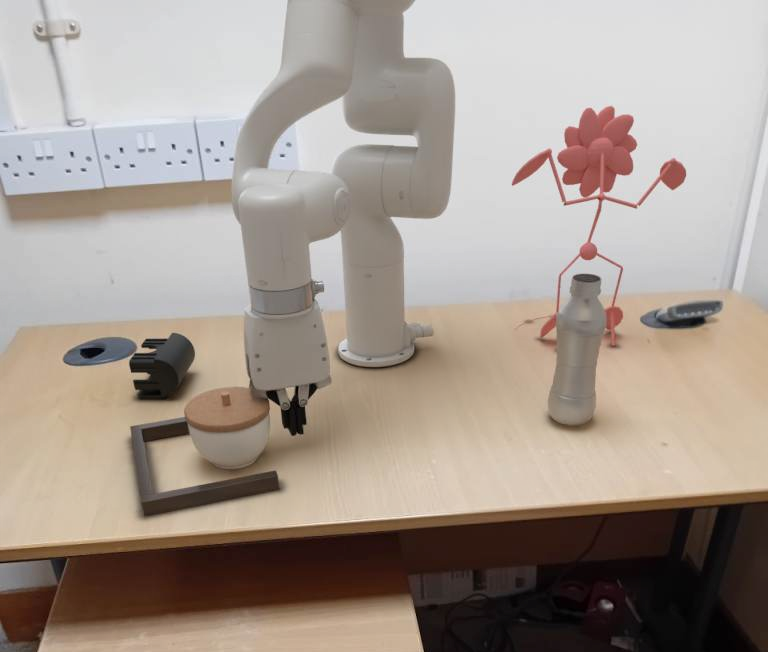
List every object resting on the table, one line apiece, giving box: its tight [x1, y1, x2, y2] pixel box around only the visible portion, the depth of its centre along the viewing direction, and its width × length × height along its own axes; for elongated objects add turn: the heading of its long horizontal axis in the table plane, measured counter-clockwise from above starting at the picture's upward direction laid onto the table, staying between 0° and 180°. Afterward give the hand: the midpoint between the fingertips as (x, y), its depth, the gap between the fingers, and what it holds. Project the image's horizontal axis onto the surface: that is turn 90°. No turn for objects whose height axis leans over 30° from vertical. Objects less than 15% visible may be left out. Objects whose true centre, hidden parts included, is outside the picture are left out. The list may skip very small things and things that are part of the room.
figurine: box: [511, 105, 687, 347], centre depth 125 cm, size 15×26×35 cm, turn 98°
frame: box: [129, 416, 280, 517], centre depth 103 cm, size 16×20×2 cm
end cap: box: [128, 332, 196, 400], centre depth 121 cm, size 10×7×7 cm
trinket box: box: [183, 386, 271, 470], centre depth 102 cm, size 11×11×9 cm
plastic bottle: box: [547, 273, 607, 426], centre depth 105 cm, size 6×7×20 cm
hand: (295, 430), depth 105 cm, fingers closed
